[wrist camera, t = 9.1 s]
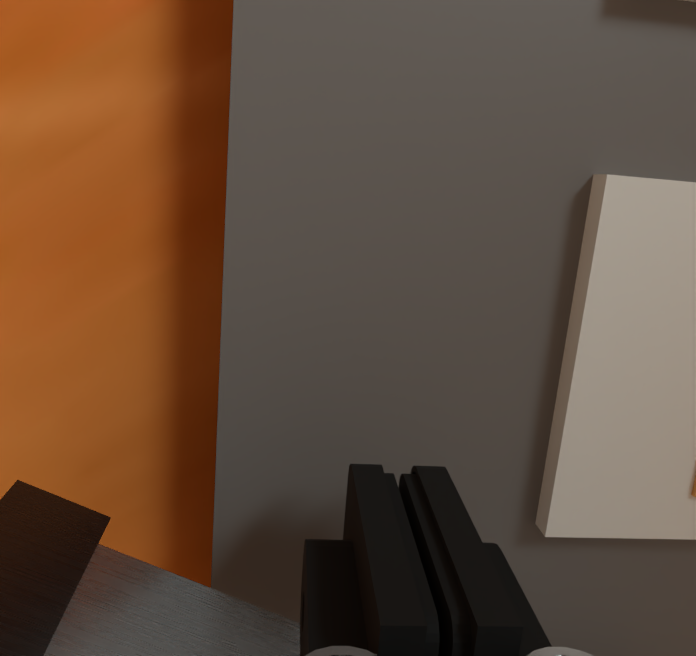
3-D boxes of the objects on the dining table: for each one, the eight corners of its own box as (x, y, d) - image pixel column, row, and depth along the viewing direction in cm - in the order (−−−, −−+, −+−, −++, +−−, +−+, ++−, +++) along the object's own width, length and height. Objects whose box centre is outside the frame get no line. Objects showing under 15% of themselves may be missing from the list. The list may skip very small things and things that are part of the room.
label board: (266, -652, 10) (262, -876, 7) (1252, -414, 12) (1456, -538, 10) (209, 763, 15) (198, 852, 13) (870, 746, 18) (947, 820, 16)
